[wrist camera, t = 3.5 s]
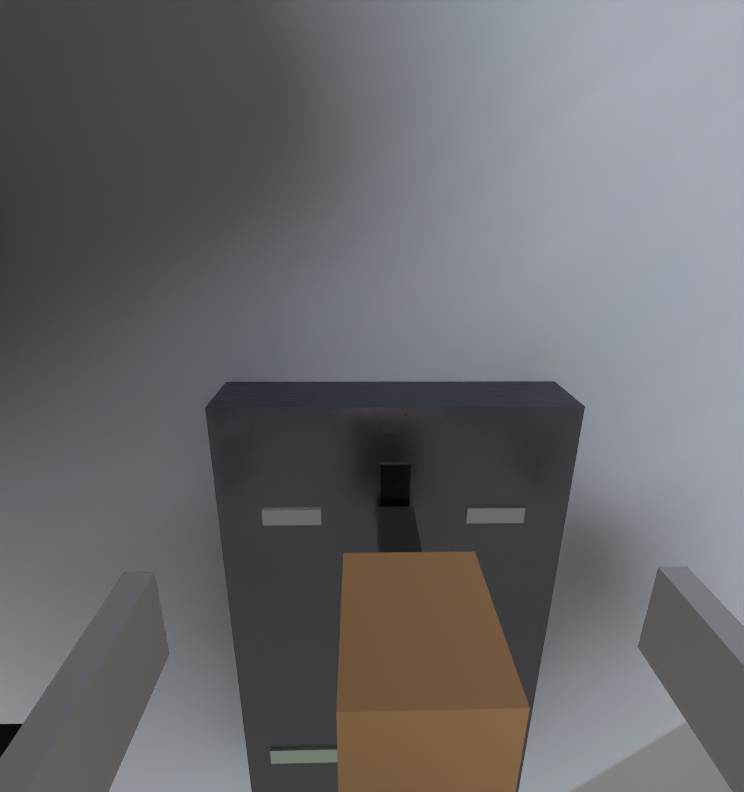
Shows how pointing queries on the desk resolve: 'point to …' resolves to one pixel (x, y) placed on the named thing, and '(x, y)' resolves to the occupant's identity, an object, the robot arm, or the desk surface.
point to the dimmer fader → (423, 672)
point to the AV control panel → (374, 529)
